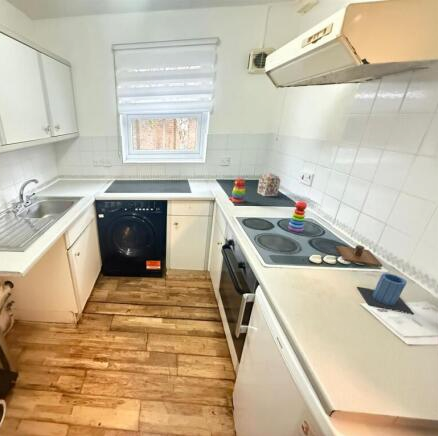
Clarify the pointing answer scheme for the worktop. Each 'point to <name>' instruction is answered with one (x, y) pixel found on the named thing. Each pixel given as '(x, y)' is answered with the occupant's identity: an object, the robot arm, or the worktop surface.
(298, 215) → the stacking toy
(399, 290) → the blue ribbed cup
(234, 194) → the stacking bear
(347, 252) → the platform
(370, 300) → the mat
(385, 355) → the worktop surface
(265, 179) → the decorative jar
